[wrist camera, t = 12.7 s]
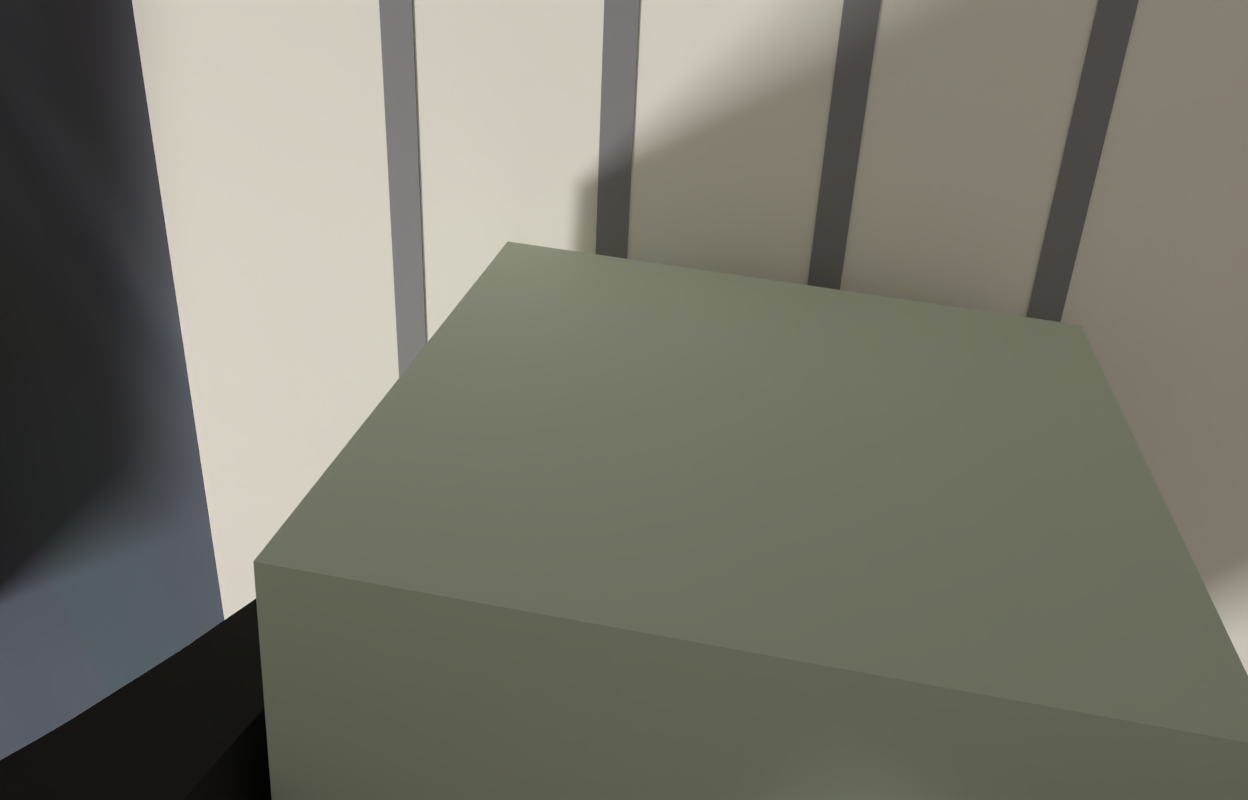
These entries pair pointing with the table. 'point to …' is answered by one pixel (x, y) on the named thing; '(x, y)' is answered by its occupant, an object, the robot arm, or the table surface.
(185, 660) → the robot arm
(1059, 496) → the sage cube
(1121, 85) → the letter
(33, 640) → the table surface
